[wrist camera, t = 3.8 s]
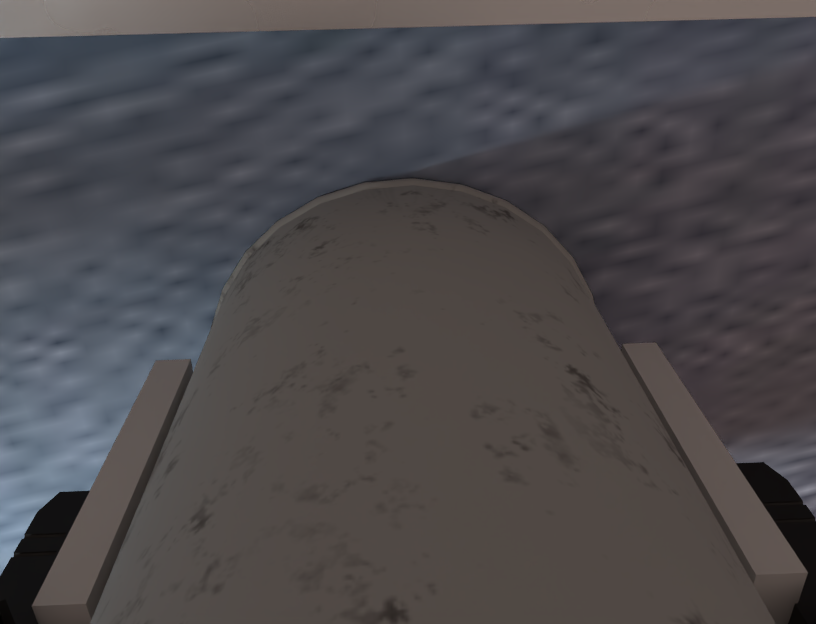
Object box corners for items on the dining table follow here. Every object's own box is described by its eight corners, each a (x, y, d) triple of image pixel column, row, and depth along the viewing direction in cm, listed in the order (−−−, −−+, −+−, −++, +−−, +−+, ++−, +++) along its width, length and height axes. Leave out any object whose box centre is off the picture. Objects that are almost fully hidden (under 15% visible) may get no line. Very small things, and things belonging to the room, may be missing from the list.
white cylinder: (425, 559, 21) (473, 1219, 10) (135, 387, 18) (-223, 1074, 7) (678, 340, 18) (1126, 963, 7) (380, 84, 15) (384, 510, 4)
